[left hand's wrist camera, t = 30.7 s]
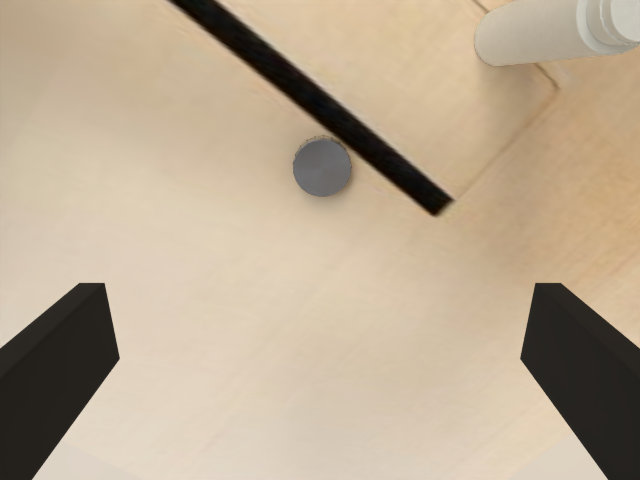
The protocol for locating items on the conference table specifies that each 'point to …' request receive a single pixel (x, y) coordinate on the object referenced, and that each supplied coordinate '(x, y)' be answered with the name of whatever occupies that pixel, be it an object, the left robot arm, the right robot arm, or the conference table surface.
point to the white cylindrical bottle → (557, 30)
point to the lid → (321, 166)
